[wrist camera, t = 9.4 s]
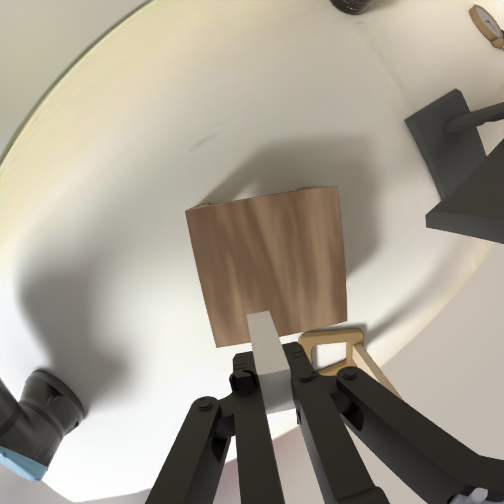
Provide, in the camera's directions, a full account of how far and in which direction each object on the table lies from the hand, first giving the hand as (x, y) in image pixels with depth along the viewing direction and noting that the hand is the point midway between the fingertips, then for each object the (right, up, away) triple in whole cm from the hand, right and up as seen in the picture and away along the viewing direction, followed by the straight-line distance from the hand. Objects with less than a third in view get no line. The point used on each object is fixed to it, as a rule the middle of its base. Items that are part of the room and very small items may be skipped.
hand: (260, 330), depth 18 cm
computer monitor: (+35, +25, +19) cm, 47 cm away
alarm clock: (+62, +64, +12) cm, 90 cm away
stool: (-6, +3, +16) cm, 17 cm away
